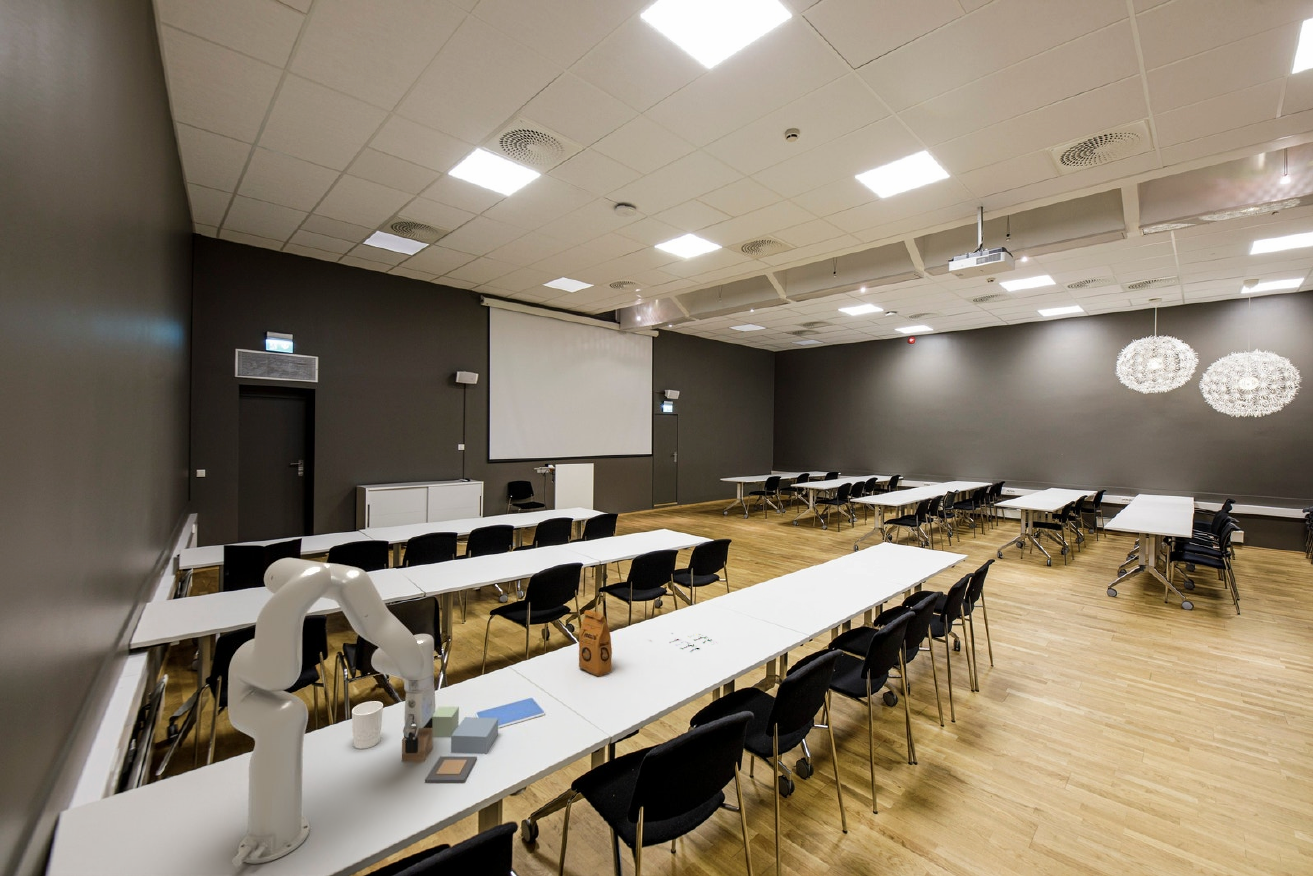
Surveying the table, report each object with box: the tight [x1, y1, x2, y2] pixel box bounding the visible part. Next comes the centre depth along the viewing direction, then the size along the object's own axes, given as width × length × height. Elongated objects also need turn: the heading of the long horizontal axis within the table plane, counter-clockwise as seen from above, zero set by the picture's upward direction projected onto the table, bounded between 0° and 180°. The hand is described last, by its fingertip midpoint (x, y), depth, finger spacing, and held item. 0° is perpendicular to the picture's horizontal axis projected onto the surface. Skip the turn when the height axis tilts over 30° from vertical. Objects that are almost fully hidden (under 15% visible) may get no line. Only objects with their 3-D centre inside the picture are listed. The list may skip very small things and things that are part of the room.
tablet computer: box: [474, 697, 546, 729], centre depth 170 cm, size 19×13×1 cm, turn 123°
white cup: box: [351, 700, 384, 750], centre depth 154 cm, size 8×8×10 cm
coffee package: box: [578, 609, 613, 678], centre depth 204 cm, size 10×12×22 cm
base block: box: [450, 716, 499, 755], centre depth 154 cm, size 10×10×5 cm
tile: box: [424, 755, 478, 784], centre depth 141 cm, size 10×10×1 cm
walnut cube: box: [401, 728, 434, 763], centre depth 148 cm, size 6×6×6 cm
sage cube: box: [431, 706, 460, 738], centre depth 160 cm, size 6×6×6 cm
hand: (419, 742), depth 148 cm, fingers open, 9 cm apart
